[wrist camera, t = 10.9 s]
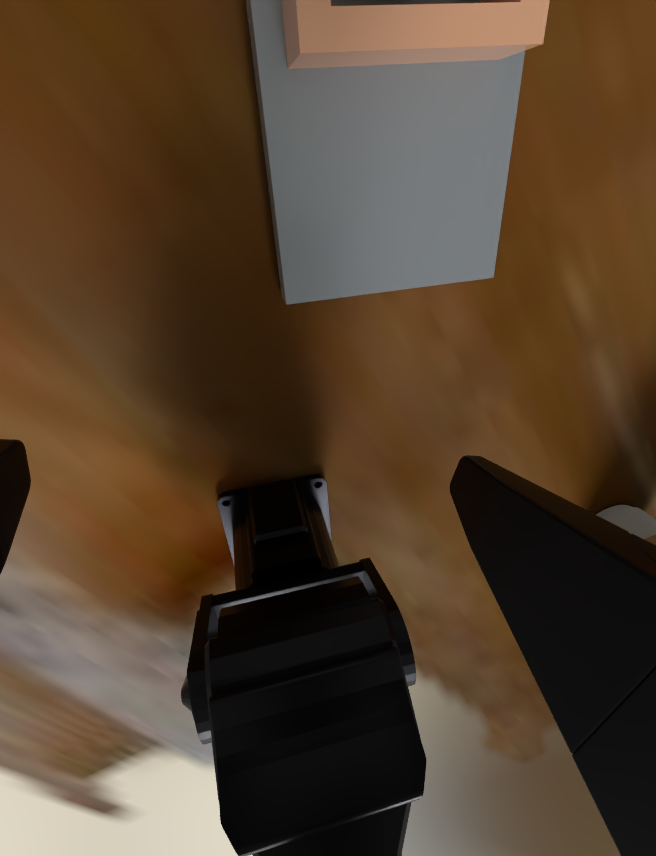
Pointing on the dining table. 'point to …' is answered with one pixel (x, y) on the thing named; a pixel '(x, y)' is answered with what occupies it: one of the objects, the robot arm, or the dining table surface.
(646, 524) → the coffee cup
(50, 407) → the dining table surface
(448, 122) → the candle stand
